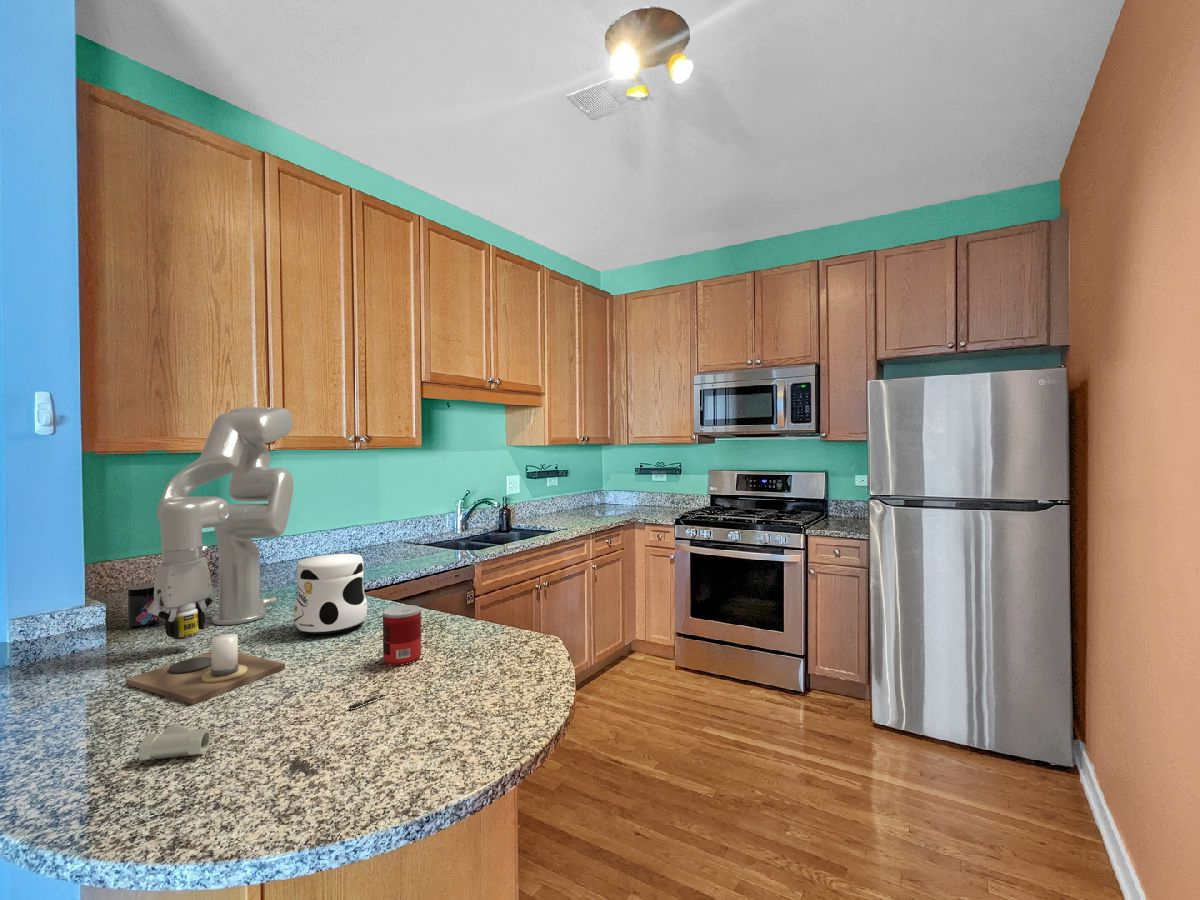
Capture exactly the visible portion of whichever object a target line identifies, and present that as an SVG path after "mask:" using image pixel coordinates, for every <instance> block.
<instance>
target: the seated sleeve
mask: <svg viewBox="0 0 1200 900" xmlns="http://www.w3.org/2000/svg"><path fill="white" fill-rule="evenodd" d="M238 636H239V635H238V634H237V633H225V634H220V635H216V636H214V637H212V638H211V639H210V644H211V646H210V647H211V648H210V652H211V676H213V677H222V676H227V675H231V674H234V673H236V672H237V671H238V670H239V664H238V653H239V649H238V648H239V647H238V645H239V644H238V643H239V642H238V639H239V637H238Z"/></svg>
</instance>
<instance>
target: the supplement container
mask: <svg viewBox="0 0 1200 900" xmlns="http://www.w3.org/2000/svg"><path fill="white" fill-rule="evenodd" d="M154 584H155V582H154V583H143V584H136V585H132V586H129V587H127V590H126V596H127V627H128V628H129V629H131V628H141V627H147V626H151V627H153V626H152V625H154V626H156V625H158V624H159V623H160V621H161V618H160V617H158V616H156V615H153V614H151V613H148V612H147V609H148V608H149V607H150V605H151V604H152V602H153V601H154ZM160 607H161V606H160ZM160 607H159V610H161V608H160ZM157 623H158V624H157ZM155 624H156V625H155ZM147 628H148V627H147ZM141 629H142V628H141Z"/></svg>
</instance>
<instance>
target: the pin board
mask: <svg viewBox="0 0 1200 900" xmlns="http://www.w3.org/2000/svg"><path fill="white" fill-rule="evenodd" d="M238 664H239V670H238V671H237V672H236V673H234V674H231V675H227V676H222V677H213V676H211V651H209V652H206V653H203V654H202V653H201V654H200V655H196V656H194V657H191V658H186V659H184V660H180V661H177V662H174V663H171V664H168V665H165V666H162V667H158V668H156V669H151V670H150V671H146V672H143V673H140V674H137V675H134V676H130V677H127V678H126V679H125V686H128V685H129V686H128V687H132V688H135V687H136V688H135V689H138V688H140V689H139V690H141V689H143V690H142V691H145V690H146V692H148V691H150V692H149V693H151V692H153V693H152V694H155V693H157V694H156V695H158V694H160V695H159V696H161V695H163V696H162V697H164V696H166V697H165V698H168V697H169V698H168V699H171V698H173V699H172V700H174V699H176V700H175V701H177V700H180V701H179V702H181V701H183V702H182V703H184V702H186V703H185V704H187V703H188V705H191V706H195V705H197V704H199V702H200V703H202V702H204V701H208V700H209V699H212V697H213V698H215V697H218V696H220V695H222V694H225V693H228V692H230V690H231V691H232V689H233V690H236V689H238V688H240V686H241V687H243V686H245V684H246V685H248V684H251V683H253V682H252V681H254V682H255V680H256V681H258V680H257V679H259V680H261V679H263V678H262V677H264V676H266V677H269V676H271V675H274V674H276V673H275V672H277V673H279V672H281V671H280V670H282V671H284V670H286V663H285V662H280V661H276V660H271V659H268V658H263V657H258V656H254V655H249V654H244V653H241V652H238ZM283 669H284V670H283ZM278 671H279V672H278ZM273 673H274V674H273ZM270 674H271V675H270ZM268 675H269V676H268ZM260 678H261V679H260ZM264 678H265V677H264ZM250 682H251V683H250ZM247 683H248V684H247ZM242 685H243V686H242ZM237 687H238V688H237ZM235 688H236V689H235ZM207 699H208V700H207ZM194 704H195V705H194Z"/></svg>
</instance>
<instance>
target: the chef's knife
mask: <svg viewBox="0 0 1200 900" xmlns="http://www.w3.org/2000/svg"><path fill="white" fill-rule="evenodd" d="M383 694H384V693H383ZM383 694H380V695H376V696H374V697H371V698H368V699H366V700H363V701H361V702H356V703H353V704H352V705H350V706H349V707H348V709H349V708H350V709H351V708H356V707H358V706H360V705H363V704H365V703H368V702H370V701H373V700H375V699H378V698H381V697H383V696H386V695H383Z"/></svg>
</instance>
